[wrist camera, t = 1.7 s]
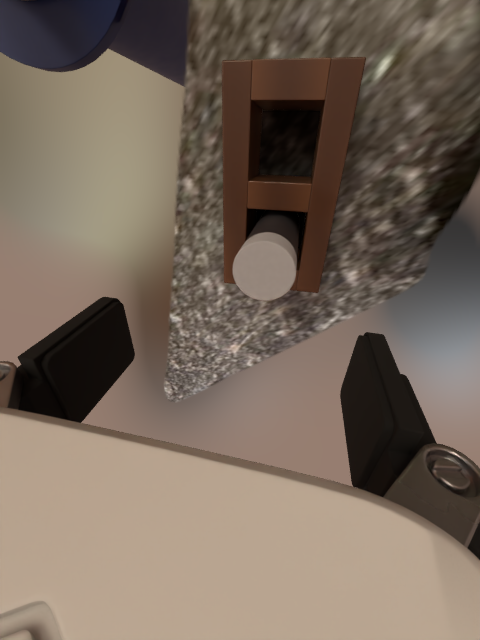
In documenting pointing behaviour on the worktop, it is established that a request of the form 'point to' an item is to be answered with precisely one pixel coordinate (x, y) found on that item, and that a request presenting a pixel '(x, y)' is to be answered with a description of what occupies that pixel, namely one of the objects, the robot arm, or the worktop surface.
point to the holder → (279, 190)
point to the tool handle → (269, 256)
